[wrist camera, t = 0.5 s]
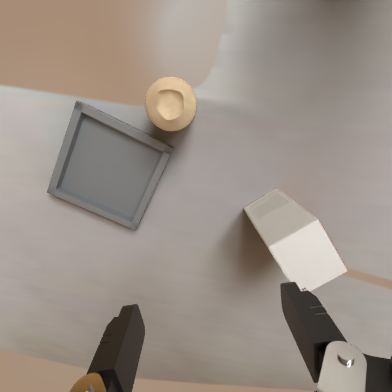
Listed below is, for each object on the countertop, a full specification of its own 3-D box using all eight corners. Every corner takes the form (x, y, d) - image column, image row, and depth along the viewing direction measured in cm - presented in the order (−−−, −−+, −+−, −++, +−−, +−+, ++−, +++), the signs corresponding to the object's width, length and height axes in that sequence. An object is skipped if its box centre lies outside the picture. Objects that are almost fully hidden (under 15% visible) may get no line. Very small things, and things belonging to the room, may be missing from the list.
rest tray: (83, 102, 33) (76, 101, 31) (174, 147, 35) (172, 148, 33) (54, 188, 36) (46, 192, 34) (138, 224, 38) (135, 230, 37)
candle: (148, 104, 33) (130, 96, 23) (179, 79, 32) (174, 60, 23) (172, 136, 34) (164, 142, 25) (202, 113, 33) (207, 110, 24)
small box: (299, 224, 39) (350, 272, 27) (266, 244, 40) (300, 298, 28) (276, 185, 37) (319, 218, 24) (242, 207, 38) (266, 248, 25)
